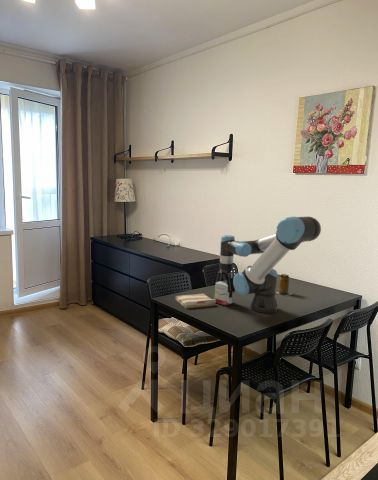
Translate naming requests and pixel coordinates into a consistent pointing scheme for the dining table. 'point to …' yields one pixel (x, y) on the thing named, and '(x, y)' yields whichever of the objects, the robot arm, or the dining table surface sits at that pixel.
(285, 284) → the condiment
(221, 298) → the ink box
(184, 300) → the shelf board
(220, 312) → the dining table surface
